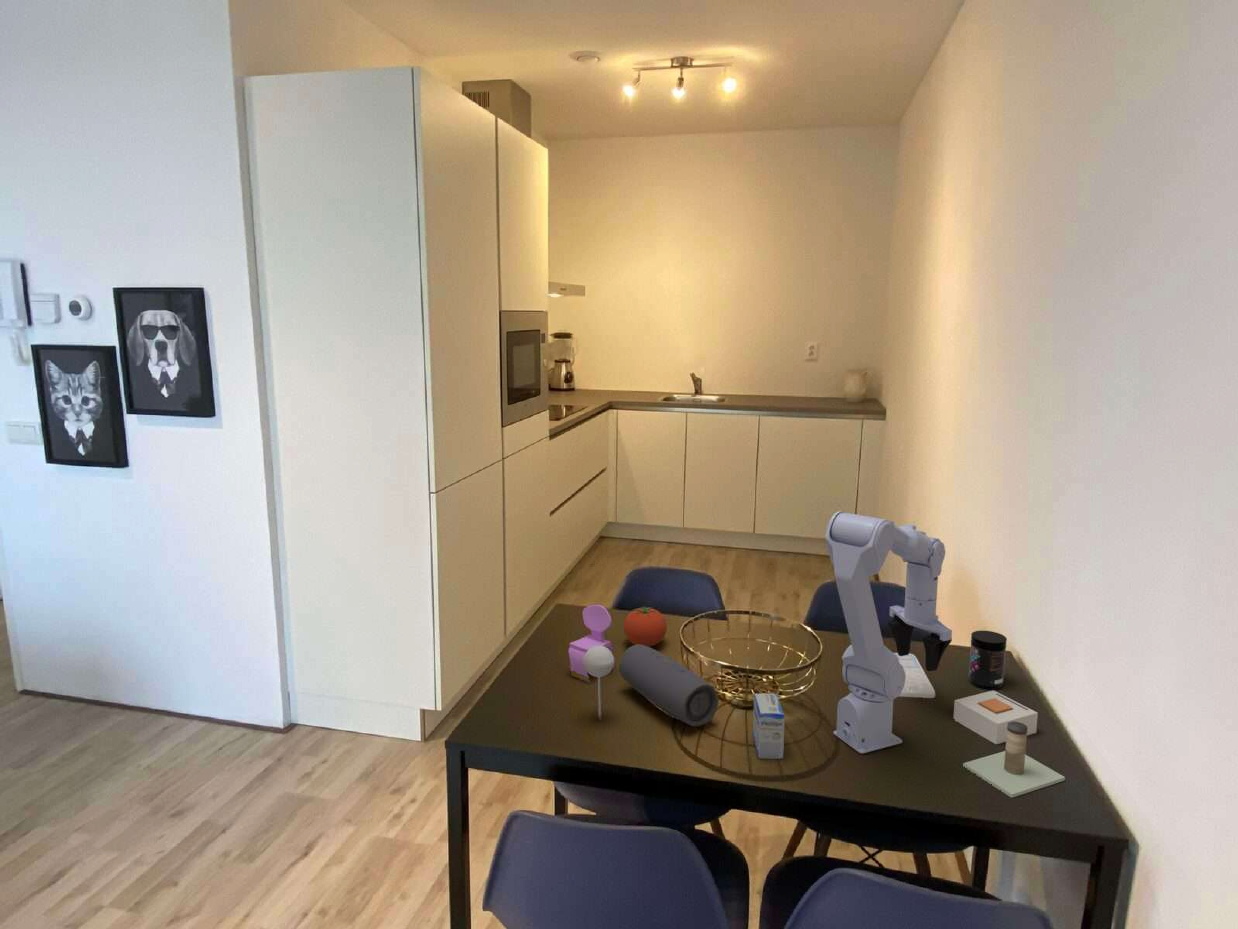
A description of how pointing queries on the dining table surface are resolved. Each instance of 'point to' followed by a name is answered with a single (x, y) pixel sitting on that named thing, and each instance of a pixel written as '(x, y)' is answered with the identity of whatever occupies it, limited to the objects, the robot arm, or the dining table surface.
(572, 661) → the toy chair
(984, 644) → the supplement container
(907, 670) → the calculator
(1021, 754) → the tan lidded jar
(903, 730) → the dining table surface
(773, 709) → the medicine box
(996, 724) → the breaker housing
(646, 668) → the bluetooth speaker
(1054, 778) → the sage board
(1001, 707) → the button
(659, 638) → the tomato
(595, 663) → the lollipop
